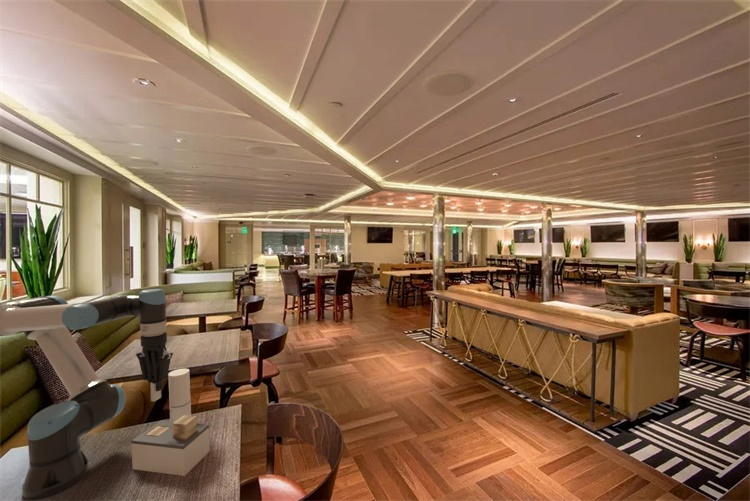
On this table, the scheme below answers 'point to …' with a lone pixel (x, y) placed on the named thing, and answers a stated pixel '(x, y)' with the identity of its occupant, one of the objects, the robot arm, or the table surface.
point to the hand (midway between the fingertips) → (156, 399)
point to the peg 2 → (184, 427)
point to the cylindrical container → (179, 394)
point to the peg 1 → (157, 431)
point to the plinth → (169, 450)
